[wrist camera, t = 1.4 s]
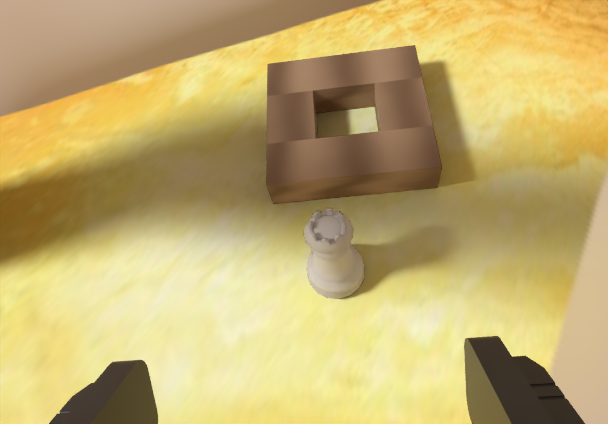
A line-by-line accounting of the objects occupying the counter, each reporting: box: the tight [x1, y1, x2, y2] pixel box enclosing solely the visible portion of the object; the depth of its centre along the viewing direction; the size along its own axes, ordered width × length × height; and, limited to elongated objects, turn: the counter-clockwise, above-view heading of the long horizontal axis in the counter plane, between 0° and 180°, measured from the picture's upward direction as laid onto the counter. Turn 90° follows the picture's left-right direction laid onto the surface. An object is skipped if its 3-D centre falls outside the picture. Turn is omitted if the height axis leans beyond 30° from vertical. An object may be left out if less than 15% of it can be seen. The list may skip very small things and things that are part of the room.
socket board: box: [266, 45, 442, 204], centre depth 43 cm, size 14×14×3 cm
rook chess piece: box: [304, 208, 365, 299], centre depth 34 cm, size 4×4×8 cm
